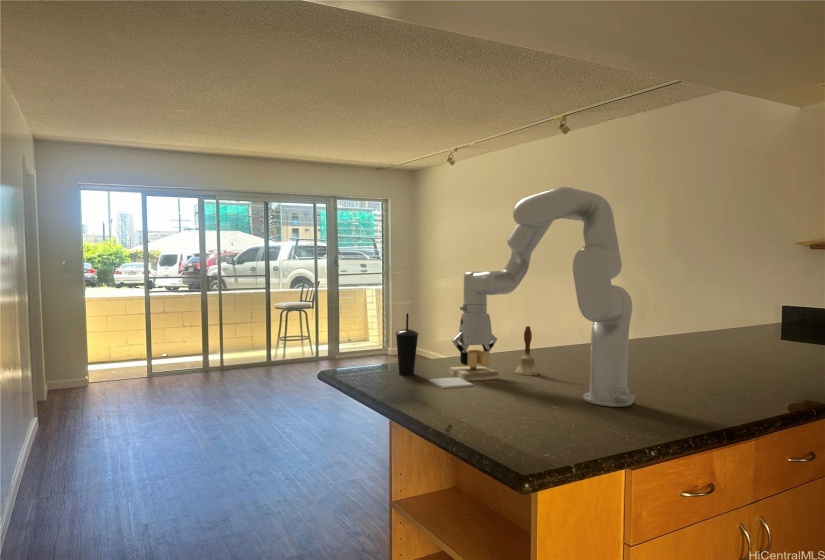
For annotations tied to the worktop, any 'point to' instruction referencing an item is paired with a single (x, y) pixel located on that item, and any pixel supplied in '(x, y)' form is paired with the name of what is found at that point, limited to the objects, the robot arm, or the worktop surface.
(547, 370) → the worktop surface
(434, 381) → the pad
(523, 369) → the hand bell
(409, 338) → the drinking cup
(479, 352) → the c link
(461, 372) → the stand
